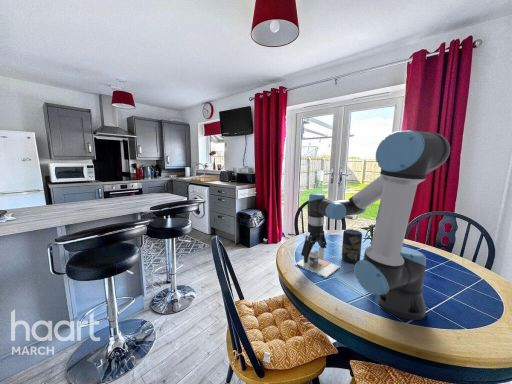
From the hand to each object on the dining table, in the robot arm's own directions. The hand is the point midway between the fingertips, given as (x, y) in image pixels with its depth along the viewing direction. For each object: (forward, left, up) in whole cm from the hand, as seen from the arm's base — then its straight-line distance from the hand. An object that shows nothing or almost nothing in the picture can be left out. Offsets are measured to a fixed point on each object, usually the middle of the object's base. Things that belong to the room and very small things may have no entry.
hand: (313, 263), depth 107 cm
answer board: (0, -3, -3) cm, 5 cm away
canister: (-9, -23, -3) cm, 25 cm away
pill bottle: (0, 0, -2) cm, 2 cm away
